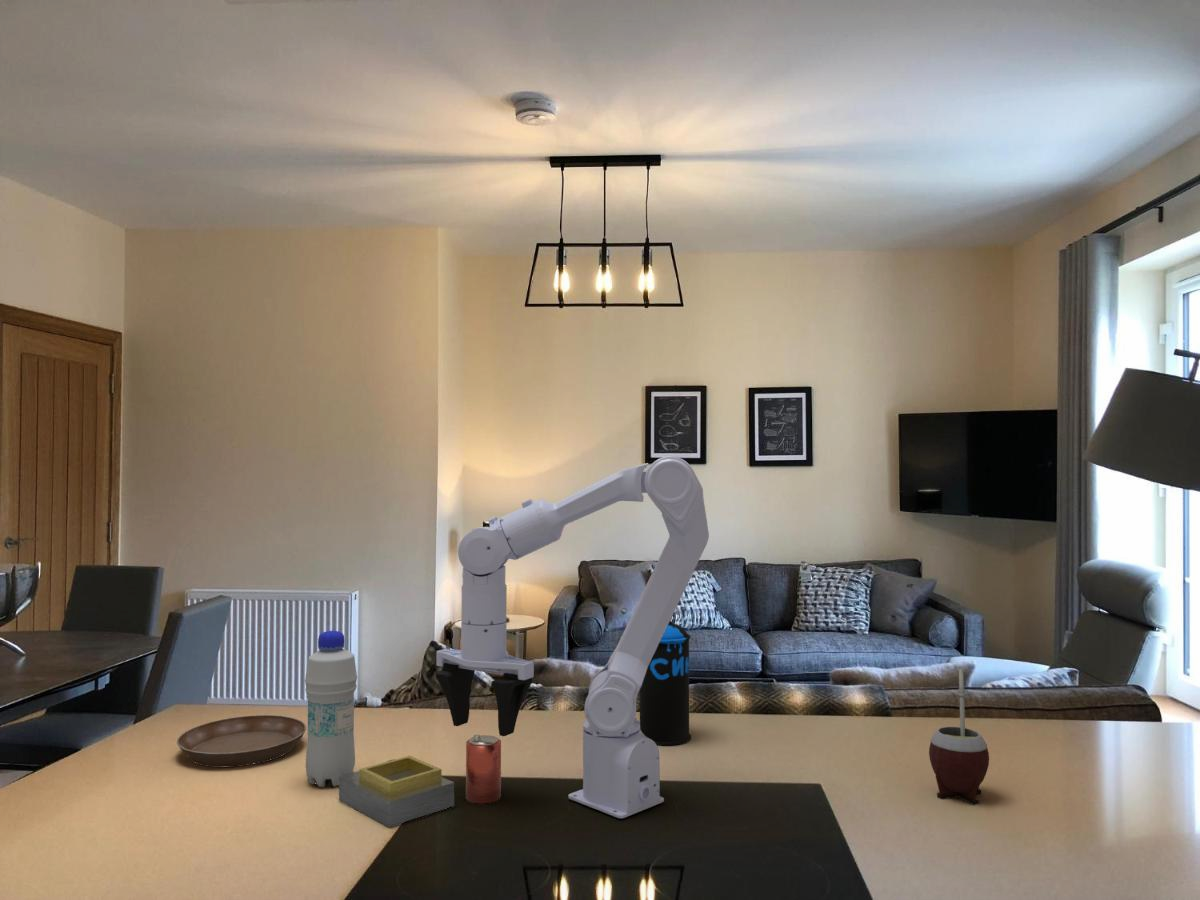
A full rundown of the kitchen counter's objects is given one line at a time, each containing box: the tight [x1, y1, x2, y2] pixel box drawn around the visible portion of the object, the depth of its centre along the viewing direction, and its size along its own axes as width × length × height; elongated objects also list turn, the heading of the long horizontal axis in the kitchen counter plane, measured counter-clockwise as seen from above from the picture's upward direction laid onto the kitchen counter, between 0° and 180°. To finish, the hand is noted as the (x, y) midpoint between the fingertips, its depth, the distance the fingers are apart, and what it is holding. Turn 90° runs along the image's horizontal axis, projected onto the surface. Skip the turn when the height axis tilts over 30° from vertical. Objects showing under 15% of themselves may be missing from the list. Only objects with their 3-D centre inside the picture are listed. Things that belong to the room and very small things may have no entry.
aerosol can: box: [639, 620, 692, 747], centre depth 135 cm, size 8×8×20 cm
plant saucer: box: [176, 714, 307, 767], centre depth 128 cm, size 18×18×3 cm
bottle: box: [304, 630, 358, 788], centre depth 116 cm, size 7×7×20 cm
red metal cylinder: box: [465, 734, 502, 805], centre depth 110 cm, size 4×4×8 cm
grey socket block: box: [338, 755, 455, 829], centre depth 108 cm, size 14×9×4 cm, turn 45°
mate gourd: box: [928, 668, 990, 806], centre depth 111 cm, size 8×8×15 cm
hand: (483, 729), depth 110 cm, fingers open, 7 cm apart
